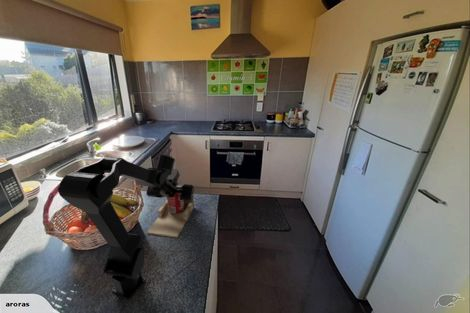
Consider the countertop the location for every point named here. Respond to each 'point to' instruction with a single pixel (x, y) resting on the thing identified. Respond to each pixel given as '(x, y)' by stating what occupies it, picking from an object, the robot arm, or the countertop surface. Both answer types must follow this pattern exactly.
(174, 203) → the soda can
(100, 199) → the robot arm
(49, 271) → the countertop surface
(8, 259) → the countertop surface
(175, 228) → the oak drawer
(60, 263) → the countertop surface
